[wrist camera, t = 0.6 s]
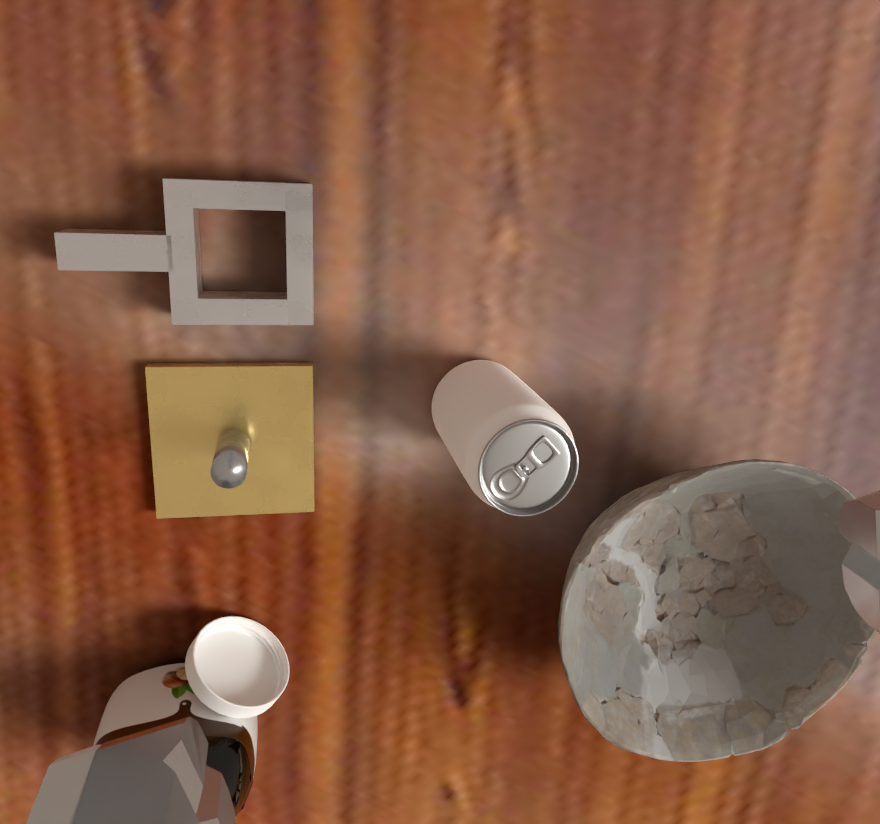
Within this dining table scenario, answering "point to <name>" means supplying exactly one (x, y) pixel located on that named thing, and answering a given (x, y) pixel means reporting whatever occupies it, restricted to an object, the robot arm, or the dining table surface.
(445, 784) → the dining table surface
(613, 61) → the dining table surface
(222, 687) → the spread jar
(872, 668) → the dining table surface
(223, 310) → the grey square frame handle
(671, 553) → the ceramic bowl
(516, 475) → the can
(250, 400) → the post
